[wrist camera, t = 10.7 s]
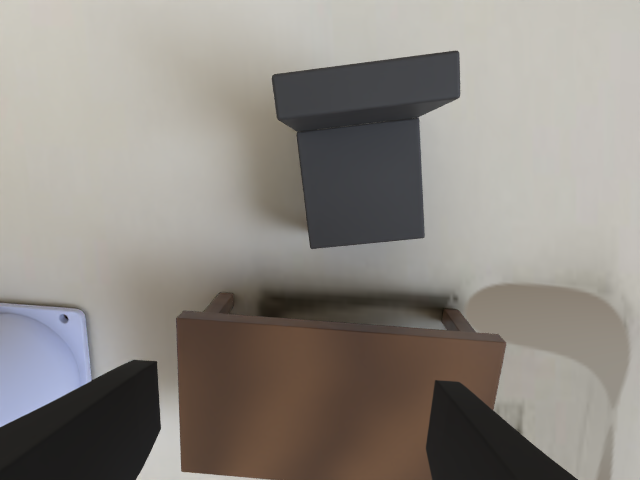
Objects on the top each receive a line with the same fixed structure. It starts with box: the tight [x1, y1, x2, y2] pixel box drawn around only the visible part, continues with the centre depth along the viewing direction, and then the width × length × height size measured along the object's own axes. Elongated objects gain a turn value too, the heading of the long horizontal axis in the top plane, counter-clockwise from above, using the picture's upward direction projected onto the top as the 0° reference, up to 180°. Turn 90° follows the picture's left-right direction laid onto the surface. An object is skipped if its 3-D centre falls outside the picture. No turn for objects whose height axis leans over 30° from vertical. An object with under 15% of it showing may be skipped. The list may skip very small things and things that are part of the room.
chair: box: [272, 51, 460, 249], centre depth 14 cm, size 5×6×8 cm
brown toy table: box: [176, 293, 506, 480], centre depth 18 cm, size 14×8×4 cm, turn 87°
